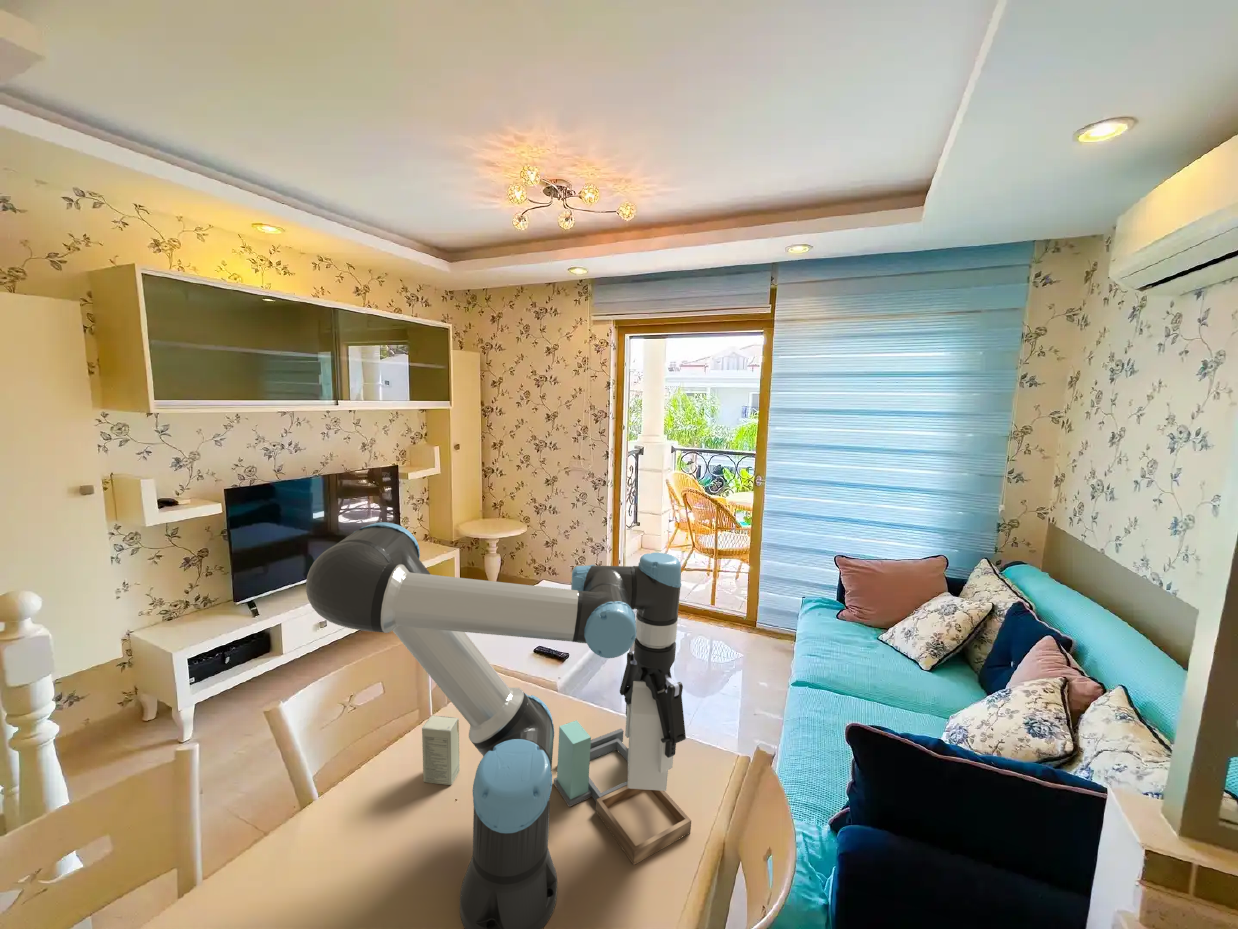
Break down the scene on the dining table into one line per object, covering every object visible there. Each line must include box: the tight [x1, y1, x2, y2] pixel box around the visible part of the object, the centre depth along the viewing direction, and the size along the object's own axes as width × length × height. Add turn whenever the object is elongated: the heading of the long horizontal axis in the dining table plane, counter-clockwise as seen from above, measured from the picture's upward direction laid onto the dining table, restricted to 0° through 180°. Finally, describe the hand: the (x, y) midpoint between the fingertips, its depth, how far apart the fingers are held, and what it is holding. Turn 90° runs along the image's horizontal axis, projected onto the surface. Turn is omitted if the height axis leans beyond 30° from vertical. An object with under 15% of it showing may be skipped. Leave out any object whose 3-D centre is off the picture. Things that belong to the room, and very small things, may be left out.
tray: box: [595, 785, 692, 866], centre depth 95 cm, size 13×13×3 cm
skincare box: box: [421, 715, 461, 786], centre depth 103 cm, size 6×4×12 cm
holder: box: [553, 719, 629, 808], centre depth 107 cm, size 23×14×13 cm, turn 123°
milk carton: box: [627, 681, 670, 792], centre depth 93 cm, size 7×7×19 cm
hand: (647, 751), depth 94 cm, fingers closed on milk carton, 10 cm apart
